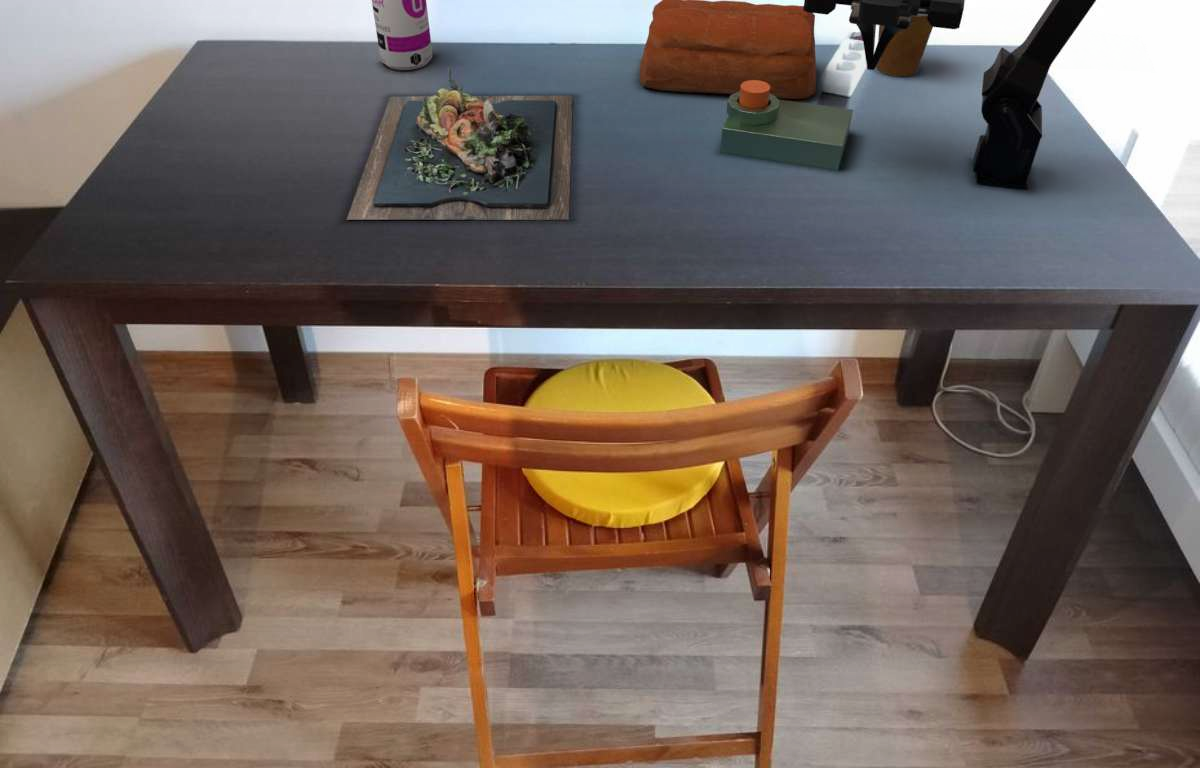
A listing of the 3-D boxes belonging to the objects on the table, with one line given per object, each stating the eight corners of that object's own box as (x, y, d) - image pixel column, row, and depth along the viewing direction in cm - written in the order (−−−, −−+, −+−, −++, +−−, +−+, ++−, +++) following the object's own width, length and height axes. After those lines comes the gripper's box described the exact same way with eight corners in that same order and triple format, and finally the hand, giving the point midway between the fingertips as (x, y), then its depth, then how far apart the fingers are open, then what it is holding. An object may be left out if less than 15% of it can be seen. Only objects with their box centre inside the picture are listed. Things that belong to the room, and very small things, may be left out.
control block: (848, 133, 138) (855, 97, 134) (838, 171, 130) (844, 133, 126) (733, 117, 142) (737, 81, 138) (716, 152, 134) (720, 115, 130)
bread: (815, 105, 144) (826, 35, 137) (635, 93, 147) (637, 23, 140) (814, 62, 156) (824, -5, 149) (647, 52, 159) (650, -15, 152)
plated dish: (385, 96, 147) (378, 49, 142) (573, 97, 147) (572, 50, 142) (346, 225, 121) (336, 172, 116) (574, 225, 121) (574, 172, 117)
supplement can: (443, 57, 157) (433, -39, 147) (409, 76, 152) (396, -23, 142) (404, 46, 160) (391, -49, 151) (370, 64, 155) (354, -33, 145)
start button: (770, 99, 134) (772, 82, 133) (765, 112, 132) (767, 94, 130) (742, 95, 135) (743, 78, 134) (736, 108, 133) (737, 90, 131)
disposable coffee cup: (855, 60, 156) (868, -17, 148) (907, 53, 159) (924, -23, 151) (885, 84, 150) (901, 6, 142) (939, 76, 152) (958, -2, 144)
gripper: (805, -45, 112) (787, 85, 122) (975, -28, 107) (942, 105, 118) (819, -74, 120) (802, 50, 130) (978, -59, 115) (947, 68, 126)
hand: (870, 68), depth 126 cm, fingers closed
